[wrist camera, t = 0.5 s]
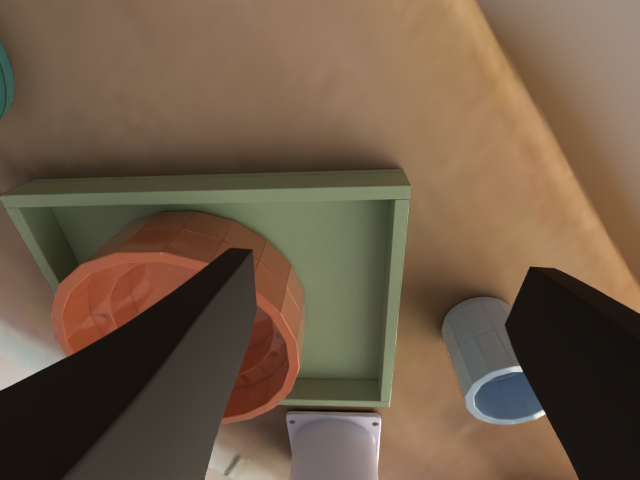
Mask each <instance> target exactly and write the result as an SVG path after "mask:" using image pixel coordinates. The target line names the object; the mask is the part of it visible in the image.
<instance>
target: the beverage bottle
mask: <svg viewBox="0 0 640 480" xmlns="http://www.w3.org/2000/svg"><path fill="white" fill-rule="evenodd" d="M13 98H14V78H13V72H12V69H11V65H10V62H9V59H8V57H7V54H6V52H5V50H4V48H3V46H2V44H1V42H0V120H1V119H2V118H3V117H4V116H5V115H6V114H7V112H8V111H9V109H10V107H11V105H12V101H13Z"/></svg>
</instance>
